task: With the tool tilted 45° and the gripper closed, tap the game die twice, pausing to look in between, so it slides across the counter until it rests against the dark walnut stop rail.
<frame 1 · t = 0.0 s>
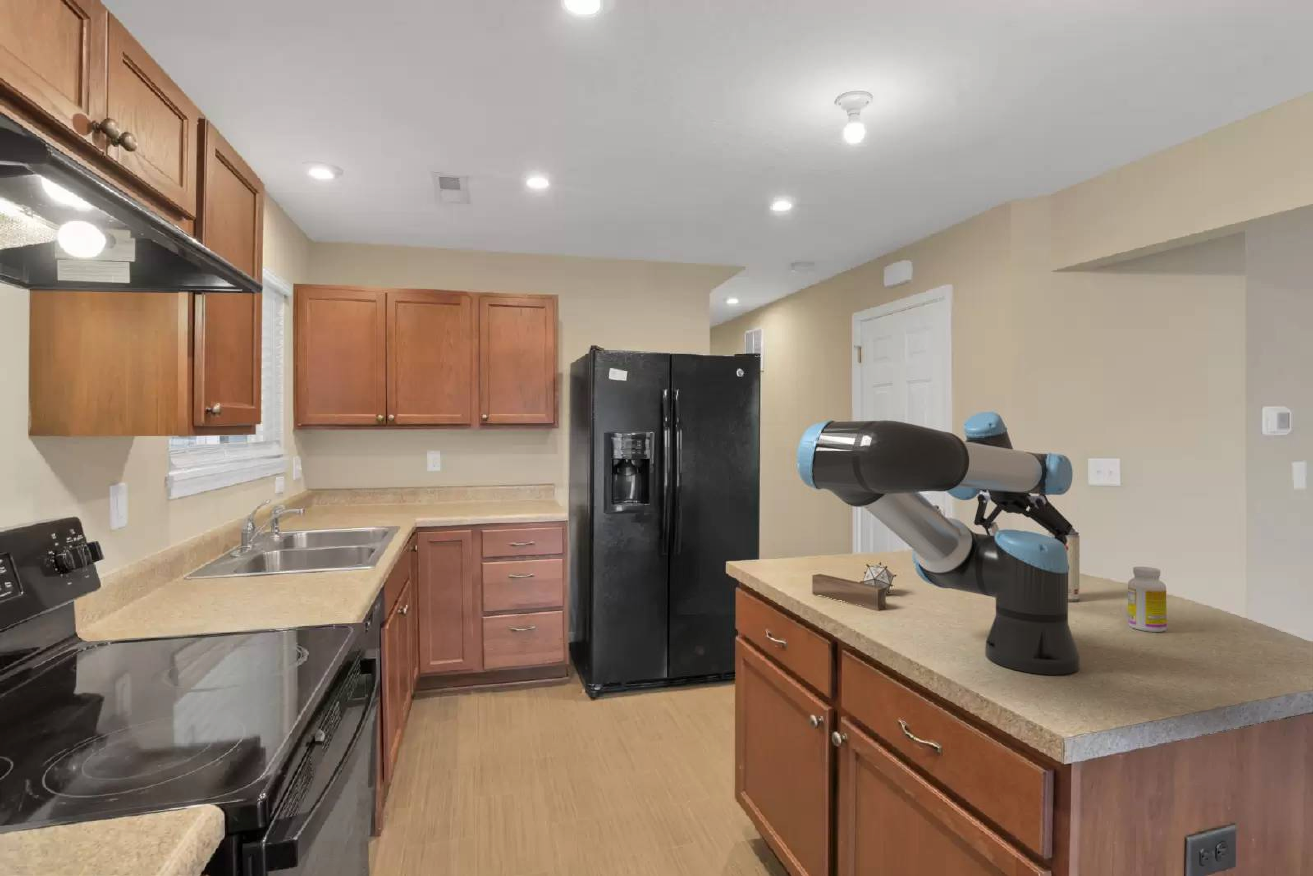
hand: (1030, 551, 151), 15 cm above the worktop, tool tilted 35°, fingers open, 13 cm apart
stop rail: (847, 601, 167), on the worktop
supplement bottle: (1146, 629, 143), on the worktop
game die: (878, 595, 174), on the worktop
aerosol can: (1063, 599, 168), on the worktop
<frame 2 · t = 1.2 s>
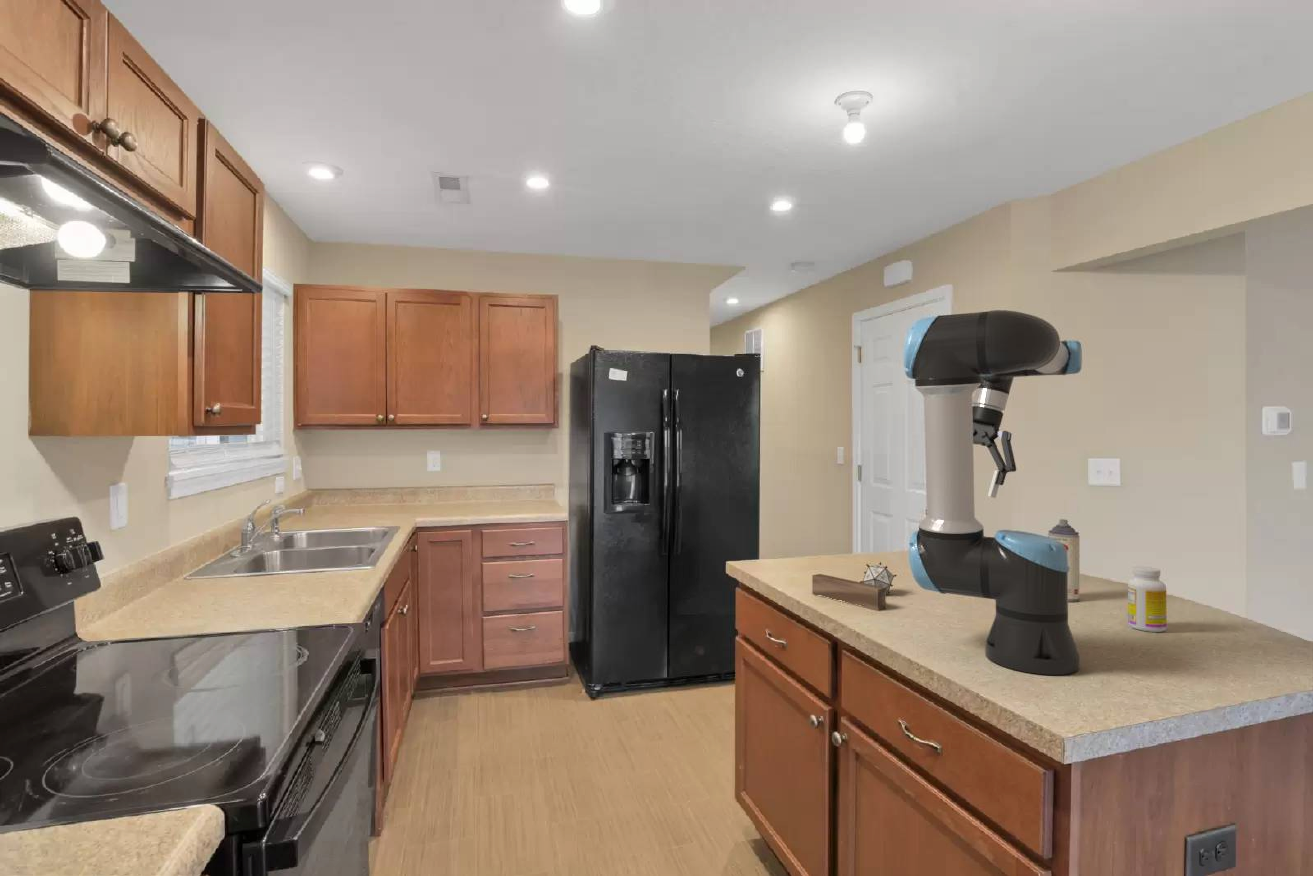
hand: (964, 490, 168), 28 cm above the worktop, tool tilted 15°, fingers open, 13 cm apart
nothing on the worktop moved.
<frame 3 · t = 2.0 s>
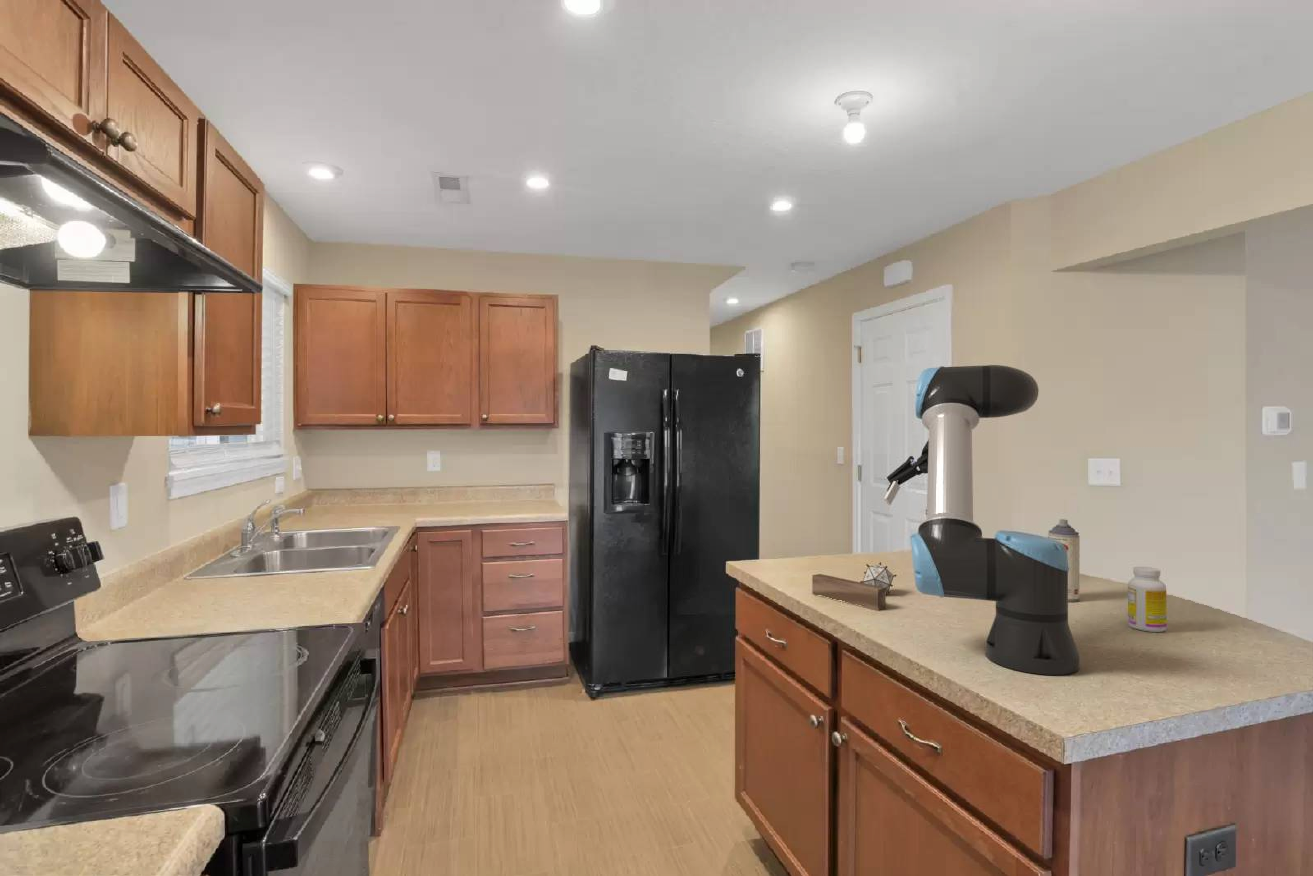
hand: (908, 504, 181), 23 cm above the worktop, tool tilted 45°, fingers open, 13 cm apart
nothing on the worktop moved.
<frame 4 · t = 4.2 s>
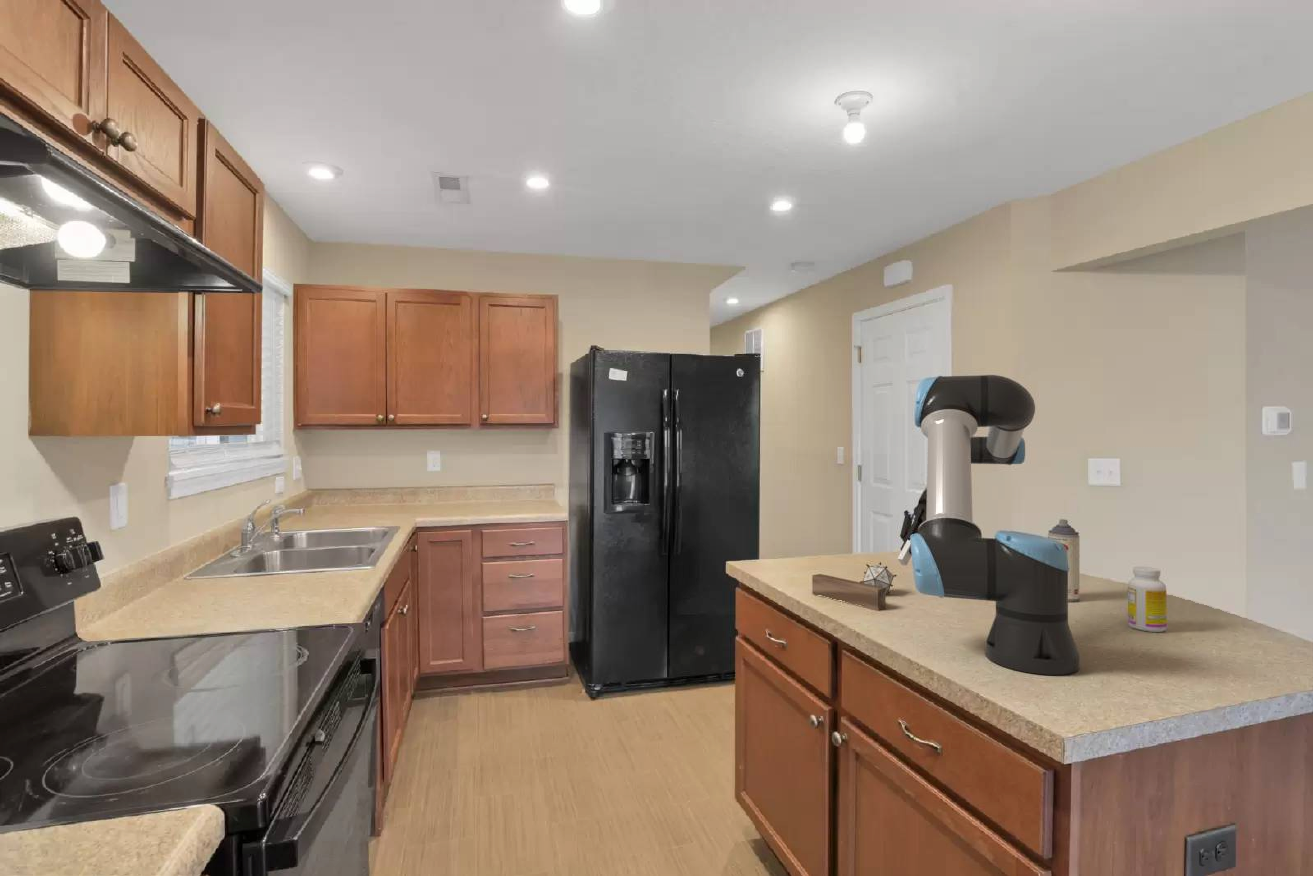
hand: (901, 562, 181), 7 cm above the worktop, tool tilted 45°, fingers closed
nothing on the worktop moved.
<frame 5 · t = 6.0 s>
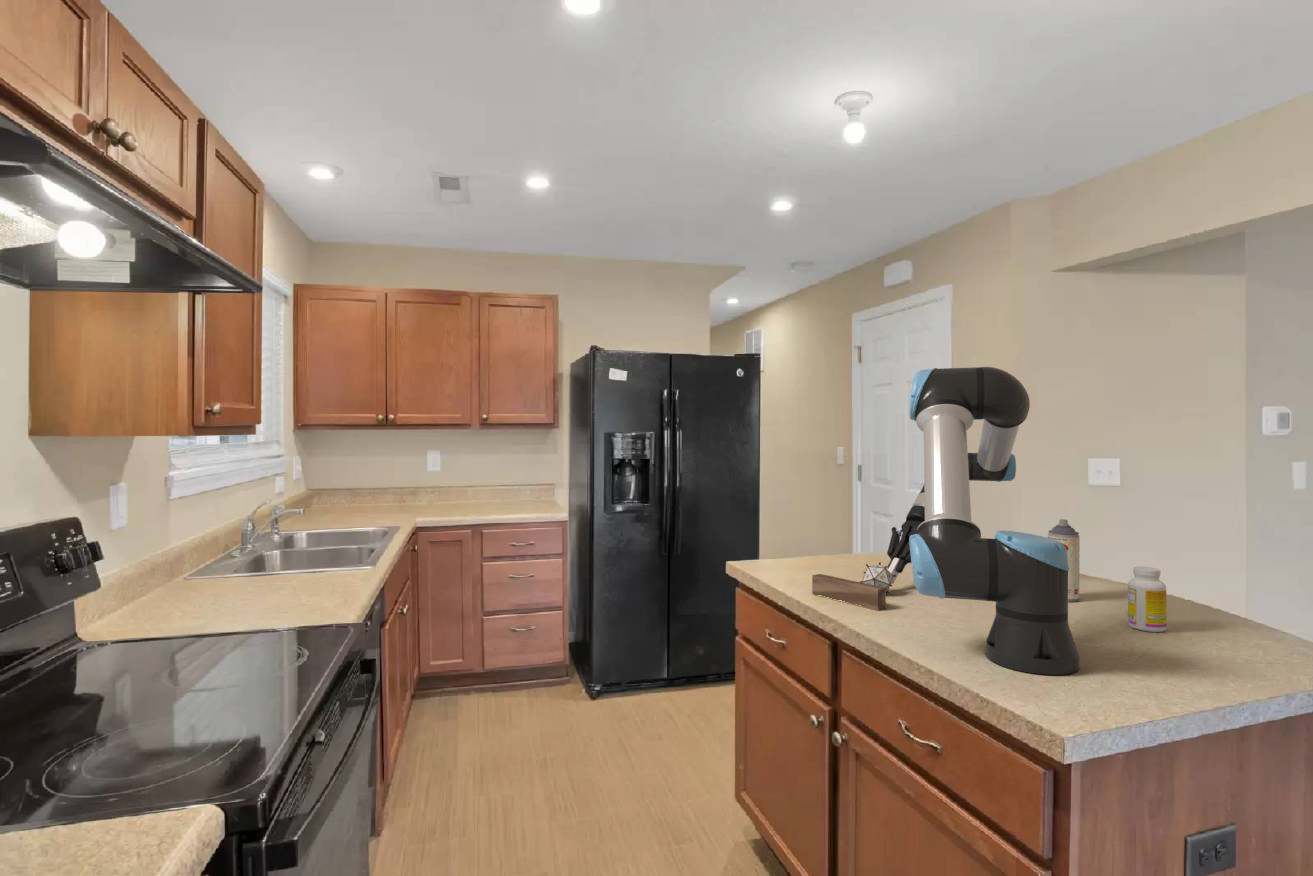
hand: (888, 580, 177), 3 cm above the worktop, tool tilted 45°, fingers closed
game die: (877, 595, 174), on the worktop, touching gripper
everything else where it was.
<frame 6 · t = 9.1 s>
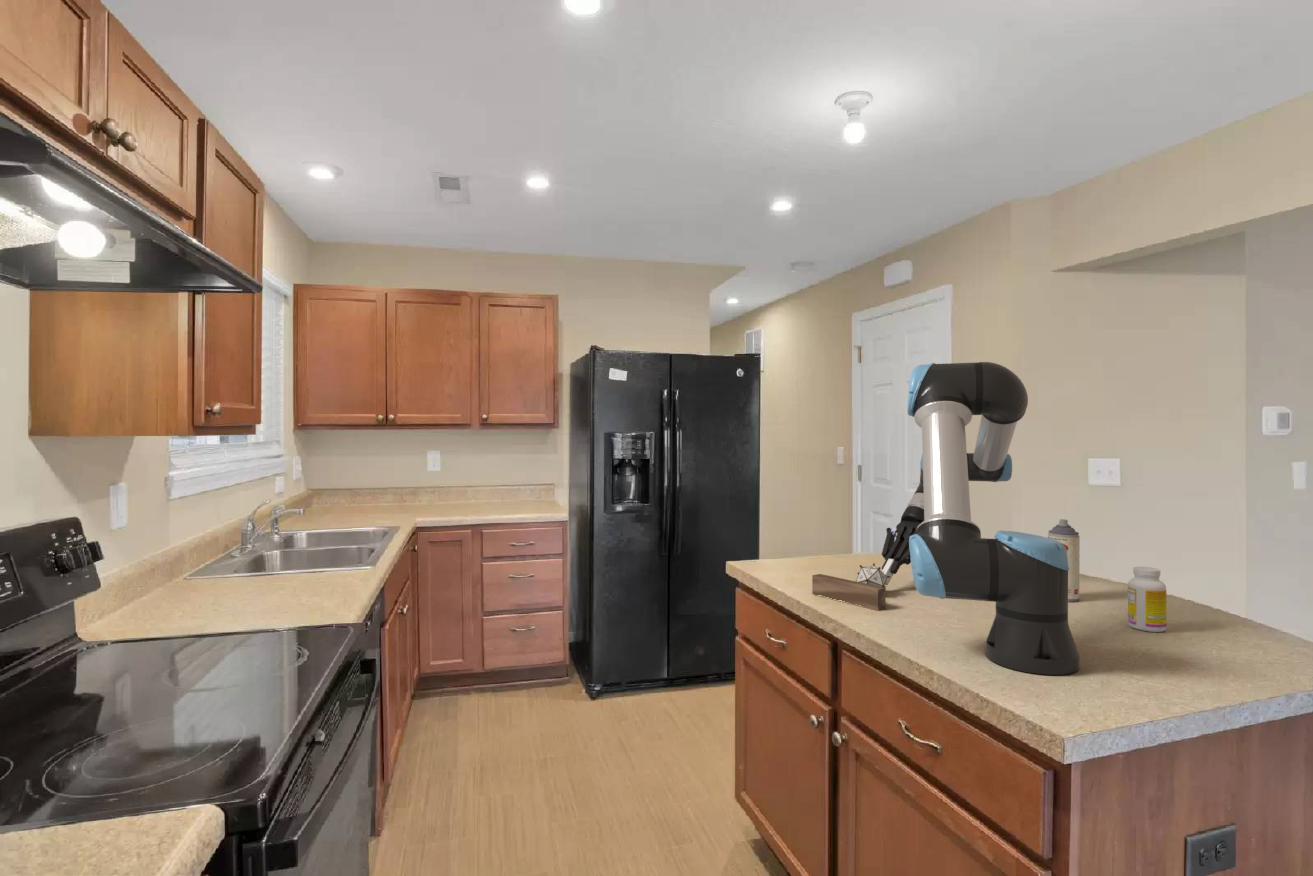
hand: (882, 581, 176), 3 cm above the worktop, tool tilted 45°, fingers closed
game die: (871, 596, 173), on the worktop, touching gripper
everything else where it was.
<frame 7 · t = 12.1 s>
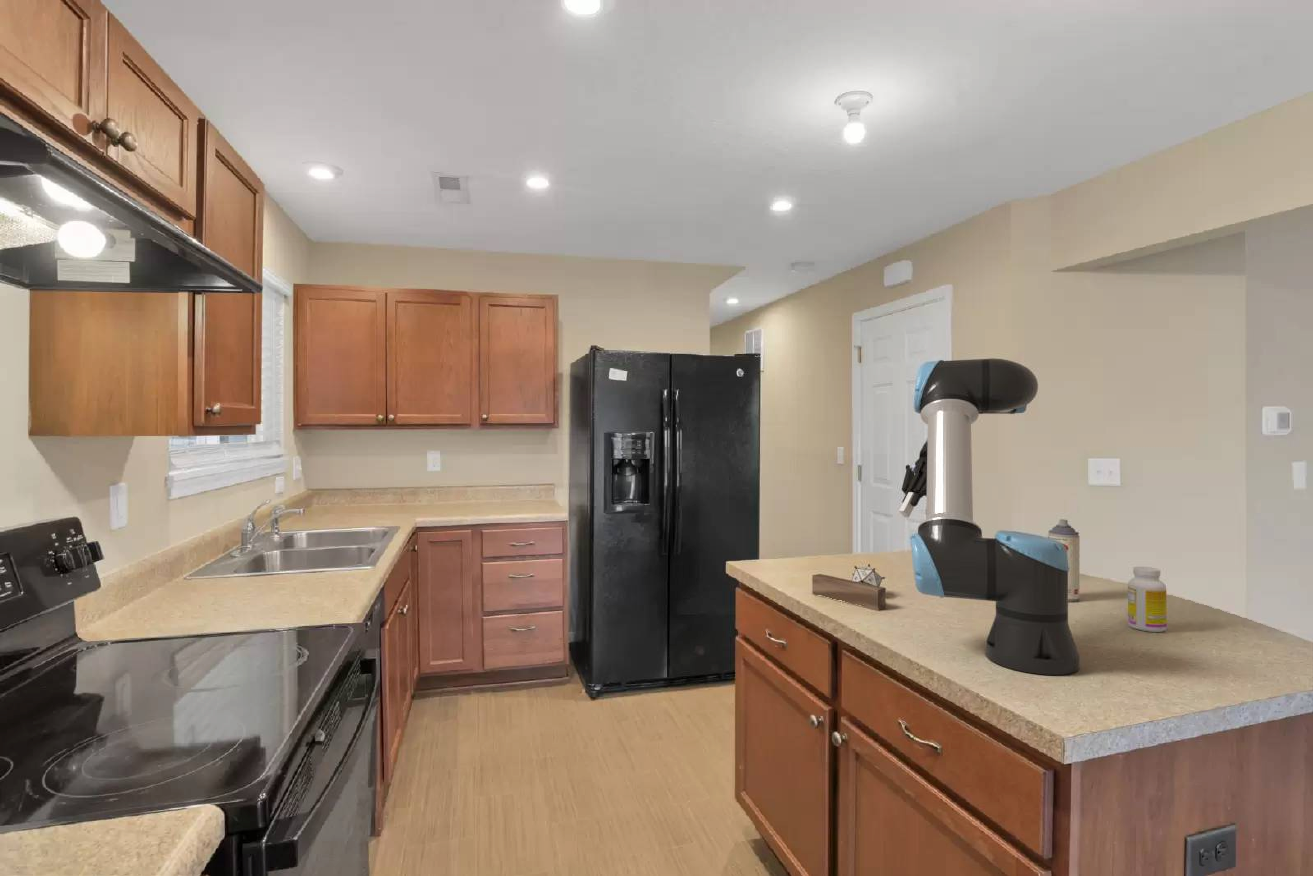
hand: (903, 514, 179), 20 cm above the worktop, tool tilted 45°, fingers closed
game die: (866, 597, 172), on the worktop
everything else where it was.
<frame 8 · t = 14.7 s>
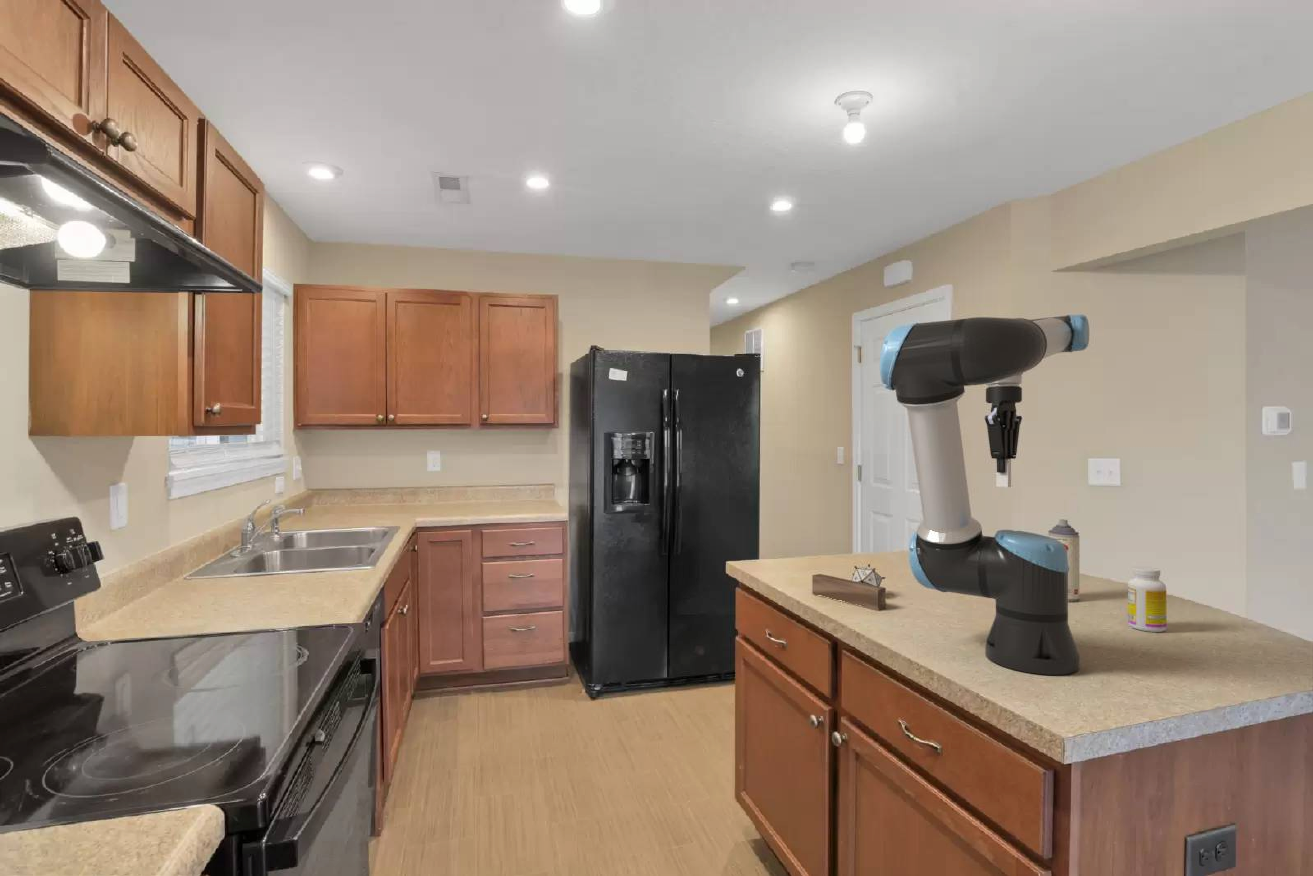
hand: (1003, 486, 157), 29 cm above the worktop, tool pointing down, fingers closed
nothing on the worktop moved.
at the end: game die inside the target area (0.5 cm from its centre), on the worktop; game die tilted 1° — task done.
